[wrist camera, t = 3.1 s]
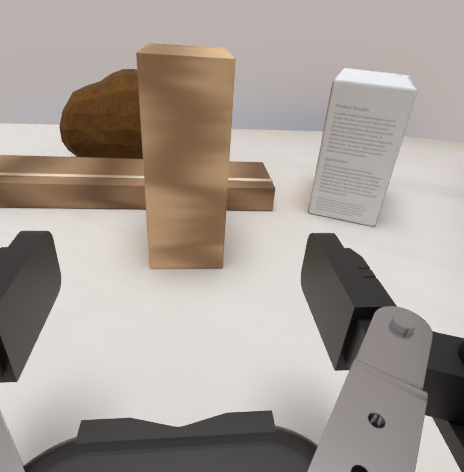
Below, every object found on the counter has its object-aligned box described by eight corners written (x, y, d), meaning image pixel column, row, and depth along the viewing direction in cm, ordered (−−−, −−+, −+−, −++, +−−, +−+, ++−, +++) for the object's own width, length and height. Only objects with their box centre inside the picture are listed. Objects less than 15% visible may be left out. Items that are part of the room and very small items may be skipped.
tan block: (212, 190, 33) (218, 41, 27) (222, 268, 23) (235, 58, 17) (162, 189, 33) (157, 37, 27) (149, 268, 23) (136, 52, 17)
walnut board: (260, 182, 36) (262, 161, 35) (272, 210, 31) (275, 187, 29) (-28, 175, 33) (-35, 153, 32) (-68, 206, 28) (-78, 180, 26)
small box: (319, 180, 37) (342, 66, 32) (377, 191, 36) (411, 74, 30) (305, 214, 31) (331, 77, 25) (375, 228, 29) (419, 87, 24)
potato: (75, 147, 41) (61, 61, 37) (182, 146, 44) (181, 66, 39) (65, 176, 34) (47, 74, 30) (193, 172, 37) (194, 78, 32)
